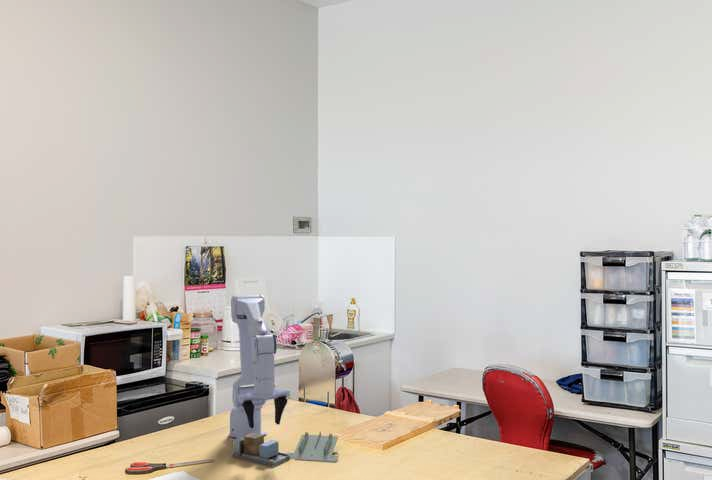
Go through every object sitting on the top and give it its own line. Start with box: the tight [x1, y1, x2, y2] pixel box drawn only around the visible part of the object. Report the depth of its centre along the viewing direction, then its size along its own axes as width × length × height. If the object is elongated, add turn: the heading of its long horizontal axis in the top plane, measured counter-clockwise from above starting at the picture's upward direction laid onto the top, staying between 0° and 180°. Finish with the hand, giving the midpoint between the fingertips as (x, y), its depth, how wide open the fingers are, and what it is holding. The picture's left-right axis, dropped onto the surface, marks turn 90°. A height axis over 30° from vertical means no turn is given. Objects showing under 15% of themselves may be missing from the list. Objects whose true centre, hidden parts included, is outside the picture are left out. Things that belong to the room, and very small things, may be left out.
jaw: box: [260, 439, 280, 459], centre depth 189 cm, size 3×5×4 cm, turn 148°
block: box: [244, 433, 265, 456], centre depth 192 cm, size 4×4×5 cm
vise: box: [231, 434, 290, 467], centre depth 191 cm, size 15×8×5 cm, turn 58°
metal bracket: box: [287, 431, 339, 464], centre depth 194 cm, size 14×6×15 cm
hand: (264, 425), depth 190 cm, fingers open, 7 cm apart
